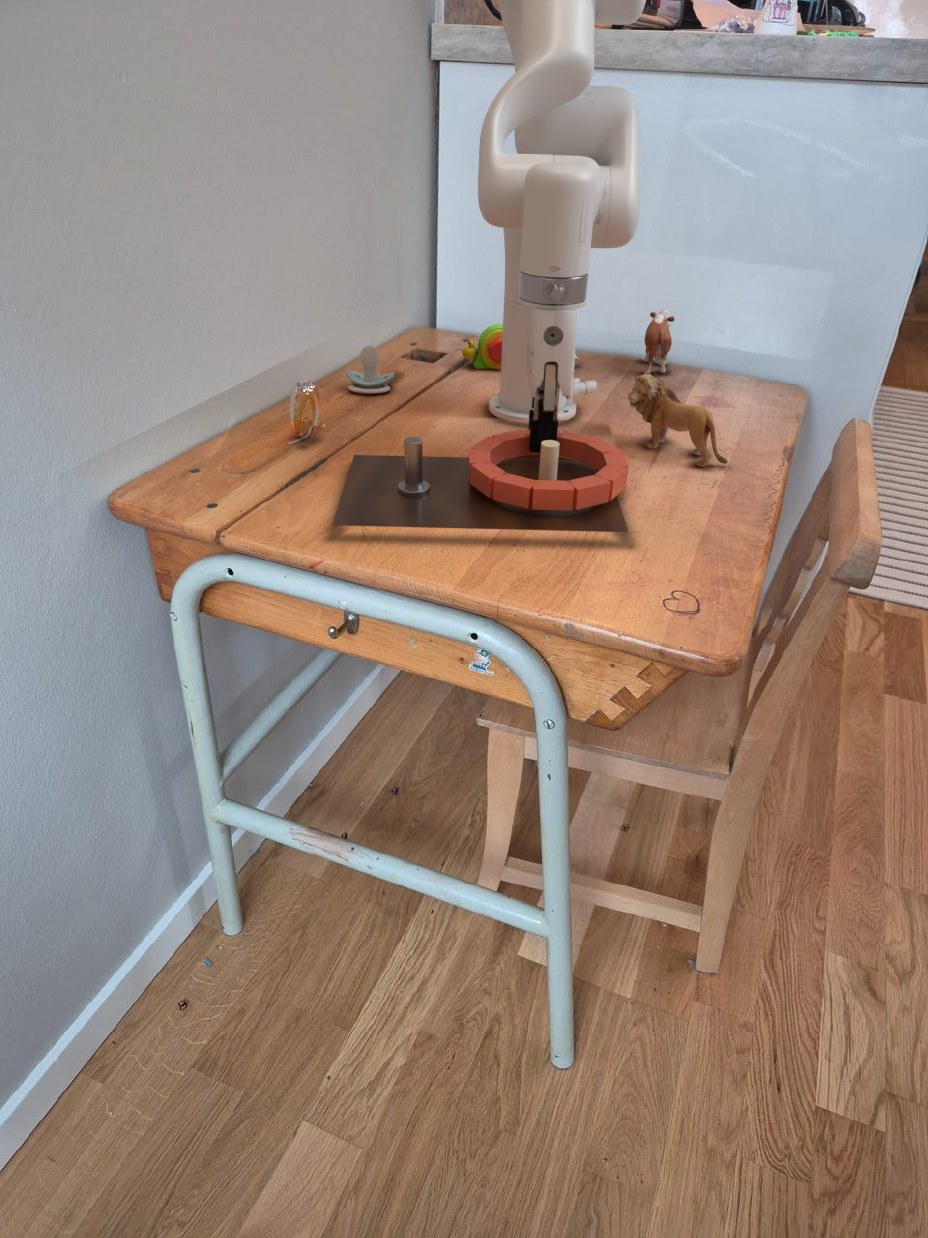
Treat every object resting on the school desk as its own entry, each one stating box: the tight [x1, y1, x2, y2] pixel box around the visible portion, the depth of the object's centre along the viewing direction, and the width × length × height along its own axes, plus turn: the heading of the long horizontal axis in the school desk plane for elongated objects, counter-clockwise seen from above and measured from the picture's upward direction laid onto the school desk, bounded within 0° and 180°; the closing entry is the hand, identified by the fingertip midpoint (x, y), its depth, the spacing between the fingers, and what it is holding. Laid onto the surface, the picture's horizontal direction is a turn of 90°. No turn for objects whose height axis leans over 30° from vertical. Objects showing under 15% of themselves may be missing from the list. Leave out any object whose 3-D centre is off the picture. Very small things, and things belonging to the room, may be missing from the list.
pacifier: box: [345, 345, 396, 395], centre depth 129 cm, size 7×6×6 cm
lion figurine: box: [627, 373, 728, 468], centre depth 110 cm, size 15×5×9 cm, turn 50°
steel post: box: [398, 436, 430, 497], centre depth 95 cm, size 4×4×6 cm
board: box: [332, 454, 629, 533], centre depth 98 cm, size 31×19×2 cm, turn 89°
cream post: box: [539, 440, 560, 480], centre depth 95 cm, size 4×4×6 cm
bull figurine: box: [642, 309, 675, 375], centre depth 141 cm, size 4×13×8 cm, turn 167°
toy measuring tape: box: [461, 323, 580, 370], centre depth 140 cm, size 6×19×7 cm, turn 96°
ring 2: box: [468, 428, 630, 510], centre depth 98 cm, size 18×18×2 cm
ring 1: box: [289, 378, 322, 439], centre depth 111 cm, size 7×3×8 cm, turn 160°
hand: (541, 445), depth 105 cm, fingers closed on ring 2, 2 cm apart
